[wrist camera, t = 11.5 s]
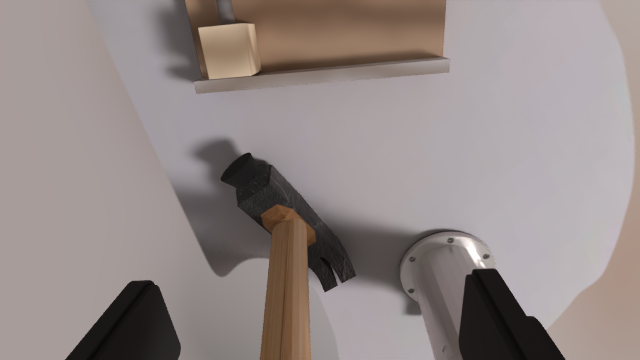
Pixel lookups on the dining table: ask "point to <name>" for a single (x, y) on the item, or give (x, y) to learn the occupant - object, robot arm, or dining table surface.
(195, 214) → the dining table surface
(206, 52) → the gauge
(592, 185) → the dining table surface
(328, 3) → the board
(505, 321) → the robot arm
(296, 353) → the hammer
